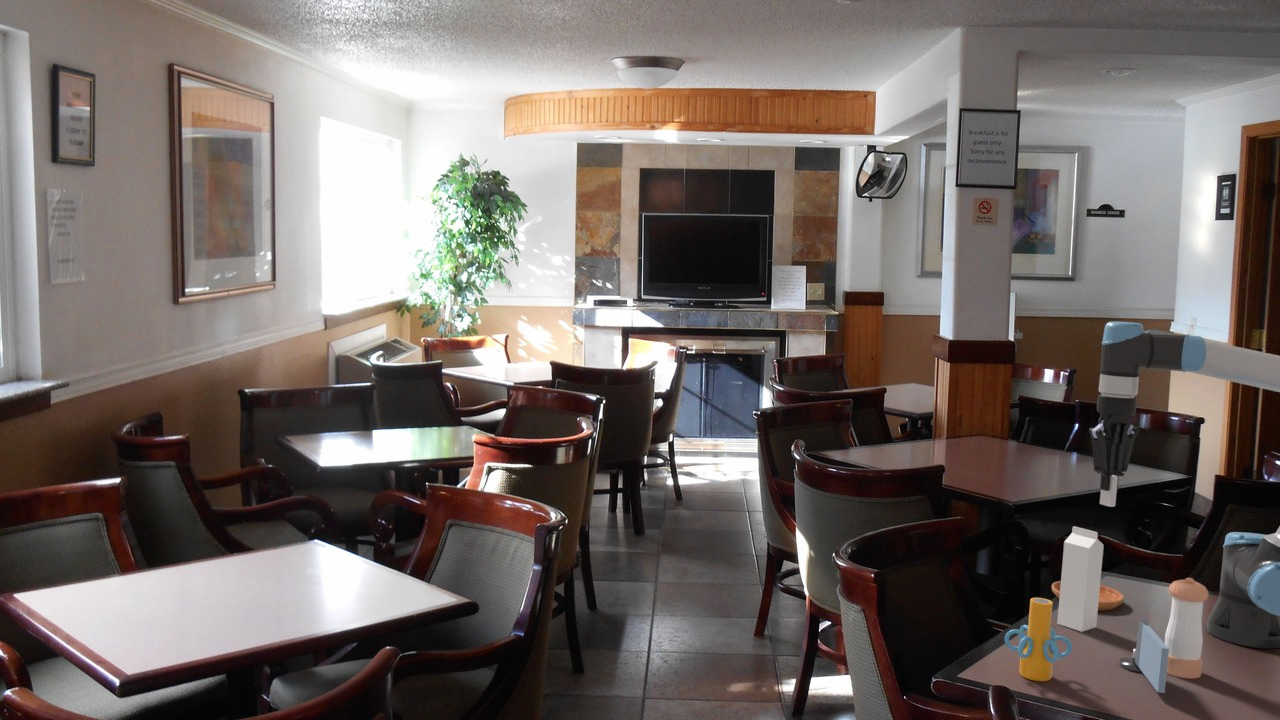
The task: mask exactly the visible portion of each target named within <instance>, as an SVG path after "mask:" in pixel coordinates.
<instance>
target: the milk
mask: <svg viewBox="0 0 1280 720" xmlns="http://www.w3.org/2000/svg"><path fill="white" fill-rule="evenodd" d="M1071 529H1072V530H1071V533H1070V534H1069V536H1068V537H1067V538H1065V540H1064V542H1063V552H1062V553H1063V554H1062V564H1061V565H1062V567H1061V577H1060V578H1061V579H1060V581H1061V586H1060V598H1058V600H1059V601H1058V602H1059V603H1058V611H1057V625H1060V626H1063V627H1066V628H1069V629H1072V630H1075V631H1078V632H1081V633H1082V632H1083V633H1084V632H1085V631H1089V630H1091V629H1092V630H1093V629H1095V628H1097V624H1098V623H1097V622H1098V611H1099V610H1098V602H1099V591H1100V585H1101V579H1102V568H1103V567H1102V566H1103V557H1104V544H1103V543H1102V542H1101V541H1100V540H1099V539H1098V535H1099V534H1098V531H1094V530H1090V529H1087V528H1083V527H1078V526H1075V525H1074V526H1072V528H1071Z"/></svg>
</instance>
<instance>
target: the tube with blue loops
mask: <svg viewBox="0 0 1280 720" xmlns="http://www.w3.org/2000/svg"><path fill="white" fill-rule="evenodd" d="M1052 615H1053V601H1052V600H1050V599H1047V598H1043V597H1032V598H1030V601H1029V612H1028V625H1027V624H1023V625H1021V626H1020V628H1019V629H1016V628H1015V629H1010V630H1009V631H1007V632H1006V634H1005V636H1004V643H1005V645H1006V646H1007V648H1009V650H1012V651H1015V652H1018V655H1019V668H1018V672H1019V675H1020V676H1021V677H1023V678H1024V679H1027V680H1031V681H1035V682H1048V681H1050V680H1052V678H1053V668H1054V667H1053V665H1054V663H1055V662H1057V661H1058V658H1061V659H1062V658H1066V657H1068V656H1069V655H1070V654H1071V653H1072V650H1073V649H1072V648H1073V647H1072V642H1071V641H1070V640H1069V639H1068V638H1067V637H1065V636H1062V635H1057V634H1056V630H1054V629H1053V628H1051V625H1052V617H1053V616H1052ZM1025 630H1026V631H1027V633H1025ZM1014 634H1016V635H1017V634H1018V637H1019V643H1018V644H1019V645H1018V646H1015V645H1012V644H1011V643H1010V637H1011V636H1012V635H1014ZM1026 634H1027V635H1026ZM1050 637H1051V638H1050ZM1056 641H1063V642H1064V643H1065V644H1066V646H1067V649H1066V651H1065V652H1062V653H1060V652H1059V648H1058V645H1057V643H1056Z"/></svg>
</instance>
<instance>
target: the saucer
mask: <svg viewBox="0 0 1280 720" xmlns="http://www.w3.org/2000/svg"><path fill="white" fill-rule="evenodd" d="M1060 586H1061V580H1057V581H1055V582H1053V583H1052V584H1051V591H1052V593H1053V594H1054V595H1055V596H1056V597H1057V599H1059V598H1060ZM1124 599H1125V596H1124V594H1122V592H1120V591H1118V590H1117V589H1114V588H1112V587H1109V586H1106V585H1103V584H1100V591H1099V602H1098V611H1110V610H1114V609H1116V608H1117V607H1119V606H1120V605H1122V604H1123V602H1124Z"/></svg>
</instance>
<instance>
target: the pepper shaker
mask: <svg viewBox="0 0 1280 720" xmlns="http://www.w3.org/2000/svg"><path fill="white" fill-rule="evenodd" d="M1168 592H1169V595H1170V596H1171V597H1172V598H1171V607H1170V614H1169V615H1170V617H1169V620H1168V623H1167V627H1166V630H1165V633H1164V634H1165V635H1164V644H1165V645H1166V646H1167V647H1168V648H1169V654H1168V664H1167V674H1168V675H1171V676H1174V677H1177V678H1180V679H1181V678H1182V679H1190V680H1191V679H1192V680H1194V679H1199V678H1201V676H1202V669H1203V662H1204V660H1203V656H1202V650H1203V642H1204V637H1203V627H1202V624H1203V623H1202V619H1203V607H1204V602H1206V600H1207V599H1208V598H1209V596H1210V594H1209V591H1208V589H1207V588H1206V586H1205V585H1203V584H1202V583H1200V582H1197V581H1196V580H1195V579H1194V578H1191V577H1186V578H1185V579H1178V580H1177V579H1176V580H1174V581H1172V582H1171V583H1170V585H1169V586H1168Z"/></svg>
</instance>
